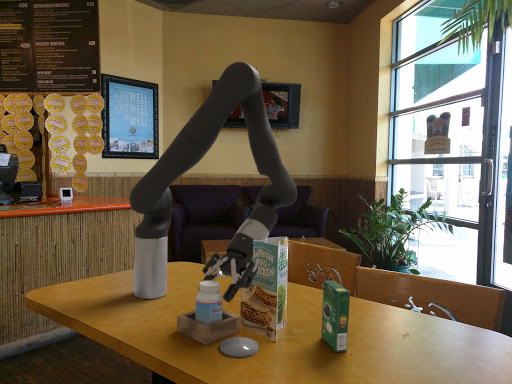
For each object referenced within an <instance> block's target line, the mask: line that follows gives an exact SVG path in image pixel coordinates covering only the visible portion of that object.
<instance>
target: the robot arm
mask: <svg viewBox="0 0 512 384" xmlns="http://www.w3.org/2000/svg"><path fill="white" fill-rule="evenodd" d="M261 81H262V80H261V76H260V73H259V72H258V71H257V69H256V68H254V66H252V65H250V64H249V63H247V62H244V61H236V62H232V63H231V64H229V65H228V66H227V67H226V68H225V70H223V72H222V73H221V75H220V77H219V79H218V80H217V81H216V83H215V85H214V86H213V89H212V90H211V91H210V93H209V95H208V96H207V97H206V99H205V100H204V102H203V103H202V104H201V105H200V106H199V107H198V109H197V110H196V111H195V112H194V113H193V114H192V116H191V117H190V119H189V120H188V121H187V122H186V123H185V125H183V127H181V129H180V130H179V132H178V133H177V135H176V136H175V138H174V139H173V140H172V141H171V143H170V145H169V146H168V147H167V148H166V149H165V151H164V152H163V154H162V155H160V157H159V159H158V160H157V161H156V163H155V164H154V165H153V166H152V167H151V169H149V170H148V171H147V172H146V174H144V176H143V177H142V178H141V179H139V180H138V182H137V183H135V185H134V186H133V188H132V190H131V192H130V195H129V205H130V208H131V209H132V210H133V211H134V212H136V213H138V214H139V215H140V214H142V215H143V218H142V220H141V222H140V223H139V224H138V225H137V226H136V227H135V230H134V260H133V272H132V273H133V281H132V283H133V284H132V293H133V295H134V297H136V298H138V299H143V300H145V299H147V300H150V299H151V300H152V299H153V300H154V299H157V298H163V297H165V296H166V295H167V287H168V285H167V284H168V283H167V282H168V281H167V280H168V242H169V241H168V238H169V236H168V233H169V232H168V231H169V229H170V228H171V227H170V226H171V222H172V208H173V195H172V192H171V189H170V186H171V185H172V184H173V183H174V181H176V180H177V179H179V177H181V176H183V175H184V174H185V173H187V172H188V171H190V170H191V169H192V168H193V167H194V166H196V165H197V164H198V163H199V162H200V161H202V159H204V157H205V155H206V154H207V153H208V152H209V151H210V149H211V148H212V147H213V145H214V144H215V142H216V141H217V138H218V137H219V134H220V132H221V130H222V128H223V126H224V123H225V122H226V120H227V119H228V118H229V116H230V115H231V114H232V112H234V110H235V109H236V108H238V106H239V107H240V109H241V112H242V114H243V117H244V121H245V125H246V129H247V138H248V143H249V147H250V152H251V154H252V158H253V160H254V163H255V166H256V170H257V172H258V173H259V175H261V176H264V177H265V176H266V177H267V178H268V179H269V180H270V182H269V183H266V184H265V185H264V186H263V187H262V188H261V189H260V192H258V195H257V197H256V200H255V203H254V207H253V209H252V211H251V212H250V213H249V215H248V216H247V218H245V221H244V222H243V223H242V224H241V225H240V226H239V228H238V229H237V231H236V233H235V234H234V235H233V237H231V239H230V242H228V244H227V246H226V253H224V254H223V255H220V254H219V253H218V252H214V254H213V255H212V256H211V257H210V259H209V260H208V261H207V263H206V264H205V266H203V268H202V269H201V271H202V273H203V274H204V275H205V276H204V277H203V279H202V281H216V279H218V278H223V277H224V276H227V277H231V279H232V280H231V281H232V283H230V284H229V285H228V287H227V289H226V290H225V292H224V294H222V299H223V300H224V301H225V302H227V303H230V302H231V301H233V299H234V298H235V296H236V295H237V293H238V291H240V290H241V289H245V290H247V289H249V288H250V286H251V284H252V282H253V280H254V278H255V276H256V275H257V273H258V271H259V266H258V265H257V264H256V263H255V261H252V257H253V246H254V245H253V243H252V242H253V240H263V239H264V238H267V239H268V237H269V235H270V233H271V232H272V230H273V229H274V227H275V226H276V224H277V222H278V219H279V218H278V213H277V211H276V209H278V208H282V207H284V208H285V207H289V206H292V205H294V204H295V202H296V201H297V198H298V188H297V185H296V182H295V181H294V179H293V177H292V176H291V174H290V173H289V171H288V169H287V168H286V166H285V165H284V164H283V160H282V157H281V154H280V151H279V147H278V146H277V141H276V139H275V136H274V133H273V129H272V127H271V124H270V122H269V117H268V114H267V109H266V107H265V101H264V96H263V88H262V82H261ZM242 238H245V239H242ZM197 289H198V291H199V292H201V291H200V289H199V287H198V288H197Z"/></svg>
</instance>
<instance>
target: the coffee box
mask: <svg viewBox="0 0 512 384" xmlns="http://www.w3.org/2000/svg"><path fill="white" fill-rule="evenodd" d="M322 295H323V296H322V314H321V315H322V316H321V334H320V335H321V336H320V337H321V338H322V339H323V341H325V342H326V343H327V345H329V347H330V348H331V349H332V350H333V351H334V352H335V353H346V352H347V351H348V333H349V319H350V318H349V315H350V302H351V291H350V290H348V289H347V288H346V287H344V286H343V285H341V284H339V283H338V282H337V281H336V280H324V281H323V294H322Z"/></svg>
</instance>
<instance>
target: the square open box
mask: <svg viewBox="0 0 512 384" xmlns="http://www.w3.org/2000/svg"><path fill="white" fill-rule="evenodd" d="M195 315H196V309H195V310H192V311H188V312H186V313H181V314H180V315H177V316H176V332H178V333H180V334H182V335H184V336H186V337H187V338H188V337H189V338H190V339H193V340H195V341H197V342H199V343H201V344H203V345H204V346H208V345H209V344H212V343H215V342H217V341H220V340H223V339H225V338H227V337H230V336H233V335H235V334H237V333H240V331H241V316H239V315H237V314H235V313H231V312H229V311H226V310H223V309H222V321H219V322H216V323H213V324H210V325H207V326H206V325H204V324H202V323H200V322H197V321H195Z"/></svg>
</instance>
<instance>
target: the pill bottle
mask: <svg viewBox="0 0 512 384" xmlns="http://www.w3.org/2000/svg"><path fill="white" fill-rule="evenodd" d="M220 284H221V283H220V282H219V281H217V280H213V281H203V280H202V281H200V282H199V285H198V288H199V289H200V291H201V292H200V291H199V292H197V294H196V296H195V310H196V315H195V321H197V322H200V323H202V324H204V325H206V326H207V325H210V324H213V323H216V322H219V321H222V310H223V300H224V299H223V294H222V293H221V292H219V291H220V289H221V288H220V287H221V286H220Z"/></svg>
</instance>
